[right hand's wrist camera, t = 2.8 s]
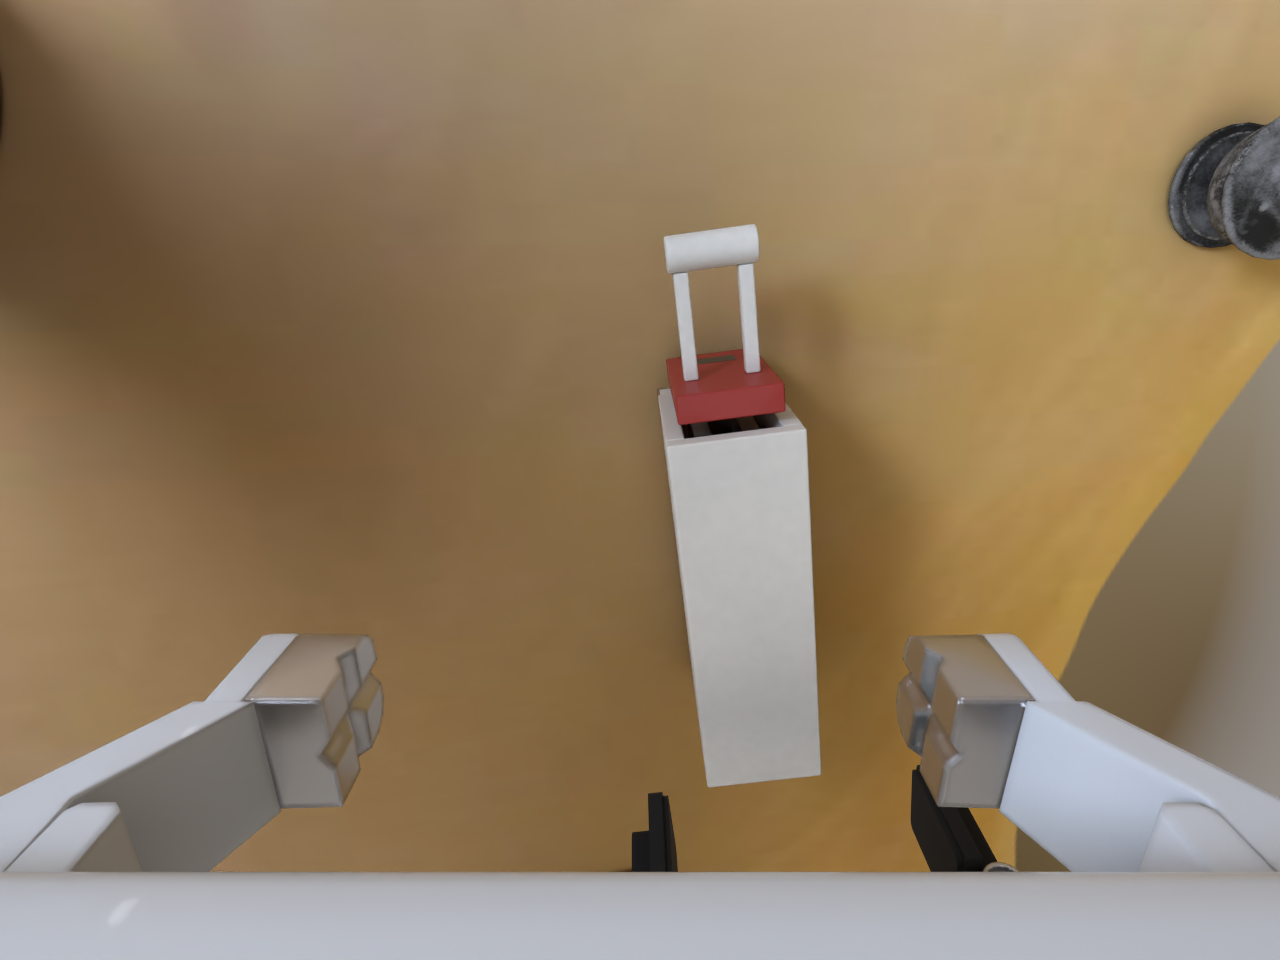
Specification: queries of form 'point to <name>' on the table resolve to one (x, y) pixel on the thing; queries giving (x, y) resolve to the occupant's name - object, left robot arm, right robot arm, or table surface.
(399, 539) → the table surface
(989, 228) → the table surface
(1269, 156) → the dark grey chess piece
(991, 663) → the right robot arm
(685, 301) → the drawer
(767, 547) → the cabinet
